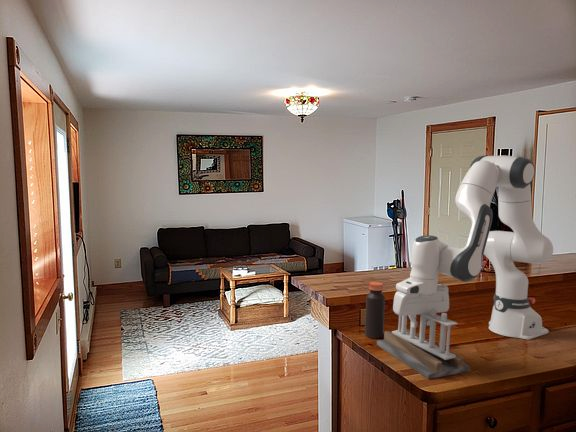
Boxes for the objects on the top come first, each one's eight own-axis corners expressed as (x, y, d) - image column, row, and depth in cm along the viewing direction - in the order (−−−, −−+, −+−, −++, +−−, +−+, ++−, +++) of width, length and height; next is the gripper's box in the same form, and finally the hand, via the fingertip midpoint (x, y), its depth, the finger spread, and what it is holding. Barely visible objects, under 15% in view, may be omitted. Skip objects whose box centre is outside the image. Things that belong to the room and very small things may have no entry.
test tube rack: (391, 333, 162) (393, 296, 161) (401, 331, 164) (403, 295, 163) (445, 360, 140) (448, 317, 139) (455, 357, 142) (458, 316, 141)
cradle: (413, 339, 169) (414, 327, 169) (469, 371, 143) (470, 357, 143) (376, 344, 163) (377, 332, 163) (428, 378, 137) (428, 364, 137)
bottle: (371, 340, 168) (373, 286, 165) (361, 333, 174) (363, 281, 172) (387, 337, 170) (389, 284, 168) (376, 331, 176) (378, 280, 174)
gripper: (442, 281, 157) (439, 320, 159) (391, 284, 150) (389, 325, 151) (455, 285, 151) (452, 326, 153) (403, 289, 144) (400, 332, 145)
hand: (420, 326), depth 152 cm, fingers open, 4 cm apart
